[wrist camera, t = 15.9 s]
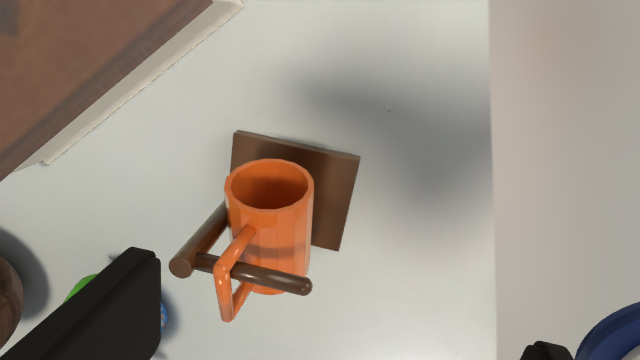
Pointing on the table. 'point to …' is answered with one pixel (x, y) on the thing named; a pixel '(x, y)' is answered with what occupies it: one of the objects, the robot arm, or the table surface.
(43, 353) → the robot arm
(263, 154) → the mug stand
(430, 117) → the table surface
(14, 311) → the wooden sphere
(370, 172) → the table surface
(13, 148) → the book
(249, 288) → the mug
